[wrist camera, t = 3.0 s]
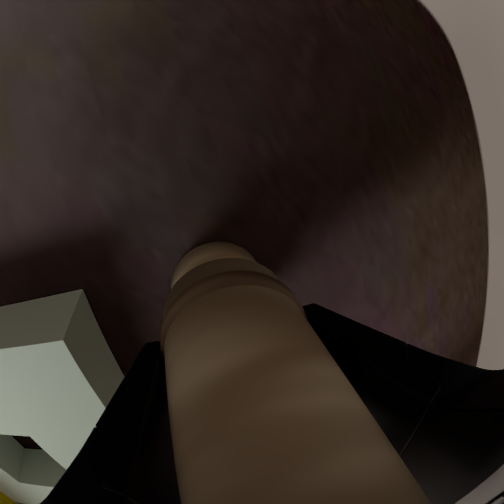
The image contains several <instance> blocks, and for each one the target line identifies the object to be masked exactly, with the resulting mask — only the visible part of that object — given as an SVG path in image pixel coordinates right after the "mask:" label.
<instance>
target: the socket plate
mask: <svg viewBox="0 0 504 504" xmlns="http://www.w3.org/2000/svg"><path fill="white" fill-rule="evenodd" d="M123 378H124V375H123V373H122V371H121V369H120V367H119V366H118V364H117V362H116V360H115V358H114V356H113V354H112V352H111V350H110V348H109V346H108V344H107V342H106V340H105V338H104V336H103V334H102V332H101V330H100V328H99V325H98V323H97V321H96V319H95V317H94V314H93V312H92V310H91V307H90V305H89V303H88V300H87V298H86V296H85V293H84V291H83V289H80V290H75V291H71V292H66V293H61V294H57V295H52V296H48V297H43V298H38V299H34V300H29V301H24V302H20V303H15V304H10V305H6V306H1V307H0V491H1V492H2V493H3V494H5V495H6V496H8V497H9V498H11V499H12V500H14V501H15V502H19V503H23V504H39V503H41V502H42V501H43V500H44V499H45V498H46V497H47V496H48V494H49V493H50V492H51V490H52V489H53V488H54V486H55V485H56V484H57V482H58V481H59V479H60V478H61V477H62V475H63V474H64V473H65V471H66V470H67V468H68V467H69V466H70V464H71V463H72V461H73V460H74V459H75V457H76V456H77V454H78V453H79V451H80V450H81V448H82V447H83V445H84V443H85V442H86V440H87V438H88V437H89V435H90V433H91V432H92V430H93V428H94V427H96V426H95V425H96V423H97V422H98V420H99V418H100V417H101V415H102V413H103V411H104V410H105V408H106V406H107V405H108V403H109V401H110V400H111V398H112V396H113V395H114V393H115V392H116V390H117V388H118V387H119V385H120V383H121V382H122V380H123ZM11 435H15V436H30V437H31V438H32V439H33V440H34V441H35V442H36V443H37V444H38V445H39V446H40V447H41V448H42V449H43V450H41V449H25V448H24V447H23V446H22V445H21V444H20V443H19V442H18V441H16V440H15V439H14V438H13V437H12V436H11Z"/></svg>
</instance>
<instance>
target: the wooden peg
mask: <svg viewBox="0 0 504 504" xmlns="http://www.w3.org/2000/svg"><path fill="white" fill-rule="evenodd" d="M160 348H161V356H162V359H163V361H164V363H165V372H166V386H167V399H168V410H169V420H170V429H171V438H172V446H173V454H174V461H175V468H176V475H177V482H178V488H179V494H180V499H181V504H431V502H430V501H429V499H428V498H427V496H426V495H425V493H424V492H423V490H422V489H421V487H420V486H419V484H418V483H417V481H416V480H415V478H414V477H413V475H412V474H411V472H410V471H409V469H408V468H407V466H406V465H405V463H404V462H403V460H402V459H401V457H400V456H399V454H398V453H397V452H396V450H395V449H394V447H393V446H392V444H391V443H390V441H389V440H388V438H387V437H386V435H385V434H384V432H383V431H382V429H381V428H380V426H379V425H378V423H377V422H376V420H375V419H374V418H373V416H372V415H371V413H370V412H369V410H368V409H367V407H366V406H365V404H364V403H363V401H362V400H361V398H360V397H359V395H358V394H357V393H356V391H355V390H354V388H353V387H352V385H351V384H350V382H349V381H348V379H347V378H346V376H345V375H344V373H343V372H342V371H341V369H340V368H339V366H338V365H337V363H336V362H335V360H334V359H333V357H332V356H331V354H330V353H329V352H328V350H327V349H326V347H325V346H324V344H323V343H322V341H321V340H320V338H319V337H318V336H317V334H316V333H315V331H314V330H313V328H312V327H311V325H310V324H309V322H308V320H307V316H306V313H305V311H304V309H303V307H302V306H301V304H300V303H299V302H298V300H297V299H296V297H295V296H294V295H293V293H292V292H291V290H290V289H289V288H288V287H287V286H286V285H285V284H283V283H282V282H280V280H279V279H278V278H277V276H276V275H275V274H274V273H273V272H272V271H271V270H269V269H268V268H266V267H265V266H263V265H261V264H259V263H257V262H256V260H255V259H254V257H253V256H252V255H251V254H250V253H249V252H248V251H246V250H245V249H244V248H242V247H240V246H238V245H235V244H232V243H228V242H211V243H206V244H203V245H200V246H198V247H196V248H194V249H192V250H191V251H189V252H188V253H186V254H185V255H184V256H183V257H182V258H181V260H180V261H179V262H178V263H177V265H176V267H175V269H174V271H173V274H172V278H171V290H170V292H169V293H168V296H167V298H166V301H165V304H164V309H163V320H162V324H161V330H160Z"/></svg>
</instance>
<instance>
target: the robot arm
mask: <svg viewBox="0 0 504 504" xmlns="http://www.w3.org/2000/svg"><path fill="white" fill-rule="evenodd" d="M303 309H304V311H305V313H306V316H307V320H308V322H309V324H310V325H311V327H312V328H313V330H314V331H315V333H316V334H317V336H318V337H319V338H320V340H321V341H322V343H323V344H324V346H325V347H326V349H327V350H328V352H329V353H330V354H331V356H332V357H333V359H334V360H335V362H336V363H337V365H338V366H339V368H340V369H341V371H342V372H343V373H344V375H345V376H346V378H347V379H348V381H349V382H350V384H351V385H352V387H353V388H354V390H355V391H356V393H357V394H358V395H359V397H360V398H361V400H362V401H363V403H364V404H365V406H366V407H367V409H368V410H369V412H370V413H371V415H372V416H373V418H374V419H375V420H376V422H377V423H378V425H379V426H380V428H381V429H382V431H383V432H384V434H385V435H386V437H387V438H388V440H389V441H390V443H391V444H392V446H393V447H394V449H395V450H396V452H397V453H398V454H399V456H400V457H401V459H402V460H403V462H404V463H405V465H406V466H407V468H408V469H409V471H410V472H411V474H412V475H413V477H414V478H415V480H416V481H417V483H418V484H419V486H420V487H421V489H422V490H423V492H424V493H425V495H426V496H427V498H428V499H429V501H430V502H431V504H504V369H503V370H486V369H482V368H478V367H475V366H471V365H468V364H465V363H461V362H458V361H454V360H451V359H448V358H445V357H442V356H439V355H436V354H433V353H430V352H428V351H425V350H422V349H420V348H417V347H415V346H413V345H410V344H406V343H405V342H403V341H400V340H398V339H396V338H393V337H391V336H389V335H386V334H384V333H382V332H379V331H377V330H375V329H372V328H370V327H368V326H365V325H363V324H361V323H358V322H356V321H354V320H351V319H349V318H347V317H345V316H342V315H340V314H338V313H335V312H333V311H331V310H329V309H326V308H324V307H322V306H320V305H317V304H315V303H312V304H309V305H305V306H303ZM95 426H96V427H94V428H93V430H92V432H91V433H90V435H89V437H88V438H87V440H86V442H85V443H84V445H83V447H82V448H81V450H80V451H79V453H78V454H77V456H76V457H75V459H74V460H73V461H72V463H71V464H70V466H69V467H68V468H67V470H66V471H65V473H64V474H63V475H62V477H61V478H60V479H59V481H58V482H57V484H56V485H55V486H54V488H53V489H52V490H51V492H50V493H49V494H48V496H47V497H46V498H45V499H44V500H43V501H42V502H41V503H39V504H181V499H180V494H179V488H178V482H177V475H176V468H175V461H174V454H173V446H172V438H171V429H170V420H169V410H168V399H167V386H166V372H165V363H164V361H163V359H162V356H161V348H160V342H159V341H154V342H148V343H146V344H145V345H144V346H143V348H142V350H141V351H140V353H139V354H138V356H137V358H136V359H135V361H134V362H133V364H132V366H131V367H130V369H129V370H128V372H127V374H126V375H125V377H124V378H123V380H122V382H121V383H120V385H119V387H118V388H117V390H116V392H115V393H114V395H113V396H112V398H111V400H110V401H109V403H108V405H107V406H106V408H105V410H104V411H103V413H102V415H101V417H100V418H99V420H98V422H97V423H96V425H95Z"/></svg>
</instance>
